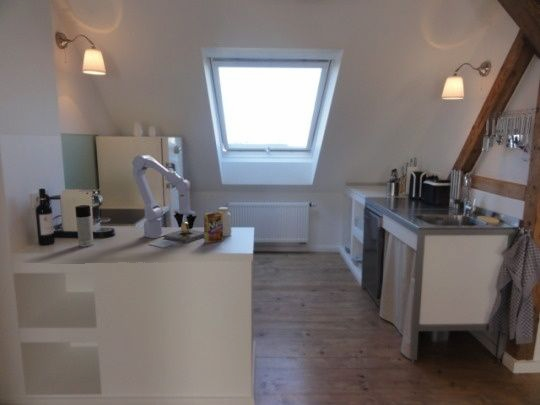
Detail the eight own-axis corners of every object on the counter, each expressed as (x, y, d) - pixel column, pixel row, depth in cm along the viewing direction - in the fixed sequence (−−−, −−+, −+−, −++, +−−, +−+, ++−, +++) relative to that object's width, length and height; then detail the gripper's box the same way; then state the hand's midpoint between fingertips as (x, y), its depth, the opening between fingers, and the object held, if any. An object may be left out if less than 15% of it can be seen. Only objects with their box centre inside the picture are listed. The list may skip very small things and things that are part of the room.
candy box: (207, 243, 191) (206, 214, 188) (204, 241, 194) (202, 212, 192) (223, 241, 196) (222, 212, 193) (219, 239, 199) (218, 210, 197)
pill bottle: (219, 237, 203) (218, 209, 200) (214, 233, 210) (213, 207, 207) (233, 235, 206) (232, 208, 204) (228, 232, 213) (227, 206, 211)
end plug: (180, 237, 203) (179, 223, 201) (186, 235, 206) (185, 221, 205) (185, 238, 200) (185, 224, 199) (191, 237, 204) (191, 222, 202)
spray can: (96, 244, 192) (93, 205, 189) (86, 247, 186) (82, 207, 182) (86, 242, 194) (82, 204, 191) (75, 246, 188) (71, 206, 184)
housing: (164, 238, 201) (163, 235, 201) (186, 232, 214) (185, 228, 214) (185, 243, 192) (185, 239, 192) (207, 236, 205) (207, 232, 205)
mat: (149, 245, 189) (149, 244, 189) (165, 240, 198) (165, 239, 198) (163, 248, 184) (163, 247, 184) (178, 243, 192) (178, 242, 192)
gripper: (168, 202, 200) (170, 227, 203) (188, 205, 193) (190, 231, 195) (178, 200, 206) (180, 225, 209) (198, 203, 198) (199, 228, 201)
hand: (185, 227), depth 202 cm, fingers open, 7 cm apart
